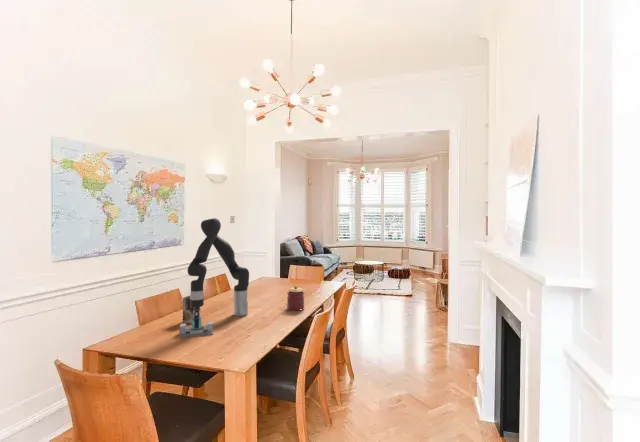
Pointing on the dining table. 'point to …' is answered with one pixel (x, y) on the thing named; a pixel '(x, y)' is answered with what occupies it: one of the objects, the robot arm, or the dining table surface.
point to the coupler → (194, 323)
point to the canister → (295, 298)
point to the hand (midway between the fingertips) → (196, 326)
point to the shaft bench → (196, 330)
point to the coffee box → (187, 310)
